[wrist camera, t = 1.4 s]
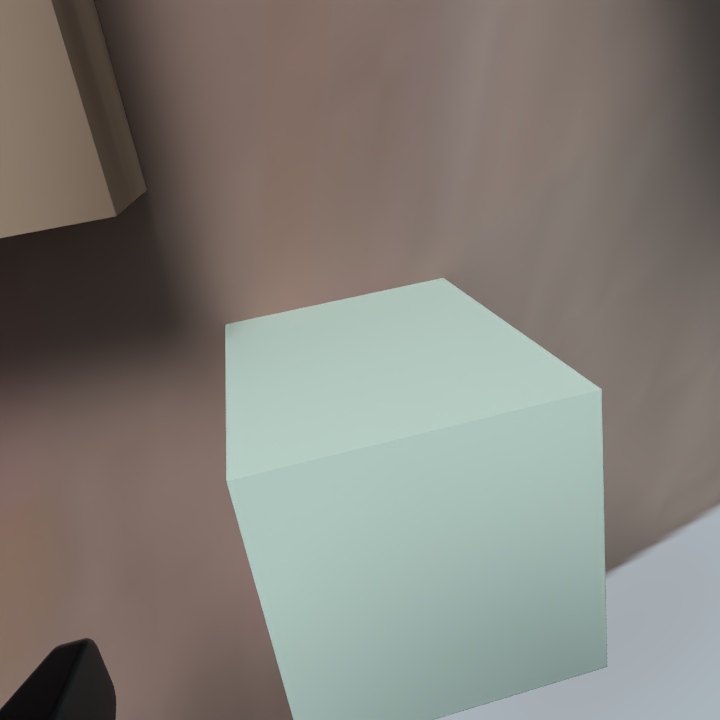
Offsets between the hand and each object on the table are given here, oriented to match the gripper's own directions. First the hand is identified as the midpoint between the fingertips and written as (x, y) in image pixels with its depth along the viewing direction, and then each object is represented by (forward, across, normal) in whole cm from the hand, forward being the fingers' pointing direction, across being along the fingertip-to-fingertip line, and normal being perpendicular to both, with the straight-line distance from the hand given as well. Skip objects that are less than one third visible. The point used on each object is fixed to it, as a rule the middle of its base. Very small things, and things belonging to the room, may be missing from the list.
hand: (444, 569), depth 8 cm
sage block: (+6, 0, 0) cm, 6 cm away
